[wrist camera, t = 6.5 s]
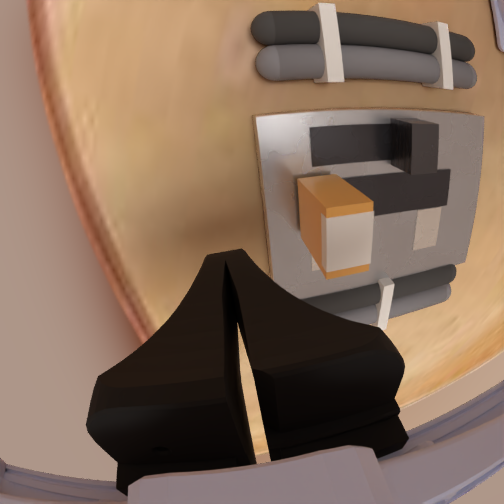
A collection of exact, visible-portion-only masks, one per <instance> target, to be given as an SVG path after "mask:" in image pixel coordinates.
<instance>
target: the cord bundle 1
mask: <svg viewBox="0 0 504 504" xmlns="http://www.w3.org/2000/svg"><path fill="white" fill-rule="evenodd" d="M251 32H252V35H253V36H254V38H255V39H256V40H257V41H258V42H260V43H262V44H264V45H271V46H267V47H265V48H263V49H262V50H261V51H260V52H259V53H258V55H257V57H256V68H257V70H258V72H259V73H260V74H261V75H262V76H263V77H264V78H266V79H269V80H273V81H280V80H296V79H314V83H320V82H344V78H357V79H383V80H398V81H410V82H420V83H422V85H423V86H425V87H434V88H443V89H450V90H453V87H457V88H463V89H469V88H472V87H473V86H474V85H475V84H476V81H477V75H476V72H475V70H474V68H473V67H472V66H471V65H470V64H468V63H466V62H467V61H470V60H471V59H472V58H473V57H474V54H475V48H474V45H473V43H472V42H471V41H470V40H469V39H468V38H467V37H465V36H463V35H459V34H456V33H453V32H449V31H448V24H445V23H442V22H438V21H436V22H429V23H423V24H416V23H412V22H407V21H401V20H396V19H390V18H383V17H377V16H369V15H361V14H351V13H340V12H336V8H335V4H331V3H317V4H316V5H314V6H313V7H312V8H310V9H309V10H307V11H267V12H263V13H261V14H259V15H257V16H256V17H255V18H254V20H253V22H252V24H251Z"/></svg>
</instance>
